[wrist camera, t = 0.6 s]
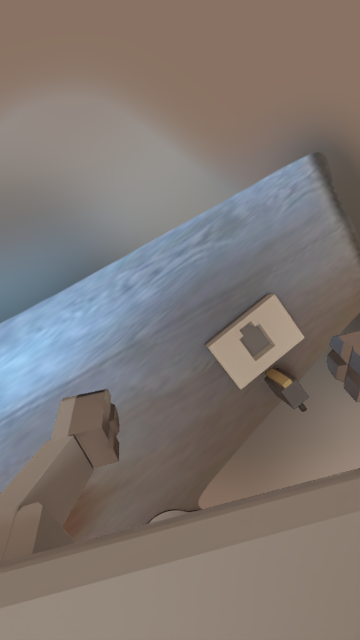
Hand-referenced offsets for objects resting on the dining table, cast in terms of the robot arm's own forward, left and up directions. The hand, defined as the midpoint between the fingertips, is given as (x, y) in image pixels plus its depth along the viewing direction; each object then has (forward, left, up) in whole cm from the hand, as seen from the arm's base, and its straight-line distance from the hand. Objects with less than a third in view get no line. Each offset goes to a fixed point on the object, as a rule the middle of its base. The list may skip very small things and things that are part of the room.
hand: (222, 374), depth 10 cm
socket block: (-20, -12, -50) cm, 55 cm away
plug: (-32, -11, -50) cm, 61 cm away
